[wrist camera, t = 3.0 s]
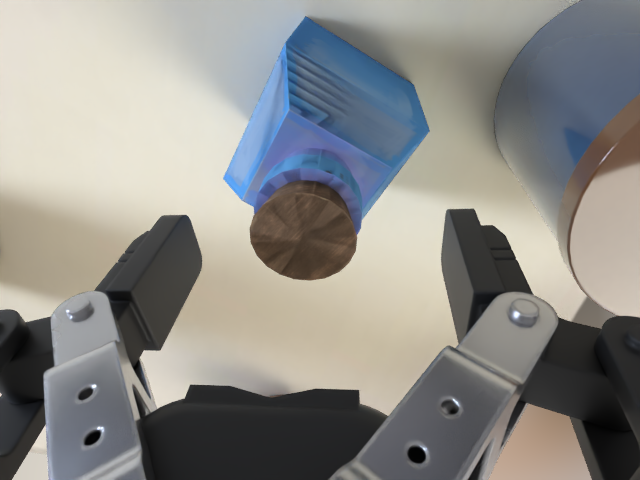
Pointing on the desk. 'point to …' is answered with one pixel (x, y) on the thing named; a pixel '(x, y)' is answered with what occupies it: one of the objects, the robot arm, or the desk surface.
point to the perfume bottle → (321, 151)
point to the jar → (582, 142)
